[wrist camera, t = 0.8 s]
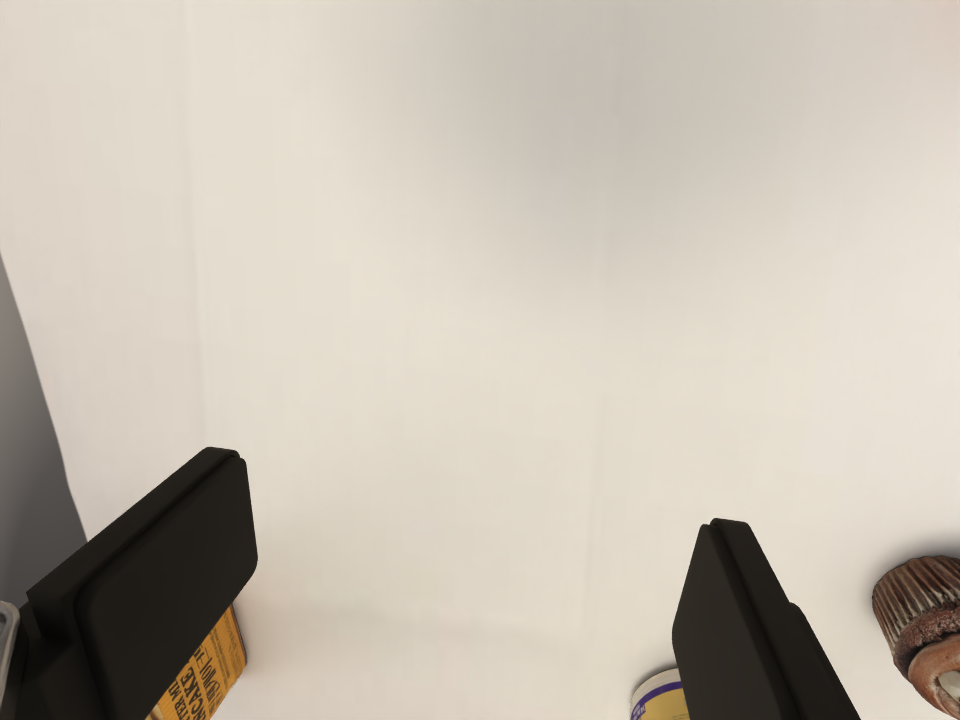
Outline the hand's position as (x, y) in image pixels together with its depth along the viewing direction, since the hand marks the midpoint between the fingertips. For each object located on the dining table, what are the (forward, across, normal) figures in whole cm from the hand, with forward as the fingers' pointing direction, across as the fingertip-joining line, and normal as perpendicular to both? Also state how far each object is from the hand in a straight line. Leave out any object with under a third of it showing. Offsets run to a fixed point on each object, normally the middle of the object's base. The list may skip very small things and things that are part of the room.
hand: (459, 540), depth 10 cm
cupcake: (+28, -34, +23) cm, 49 cm away
